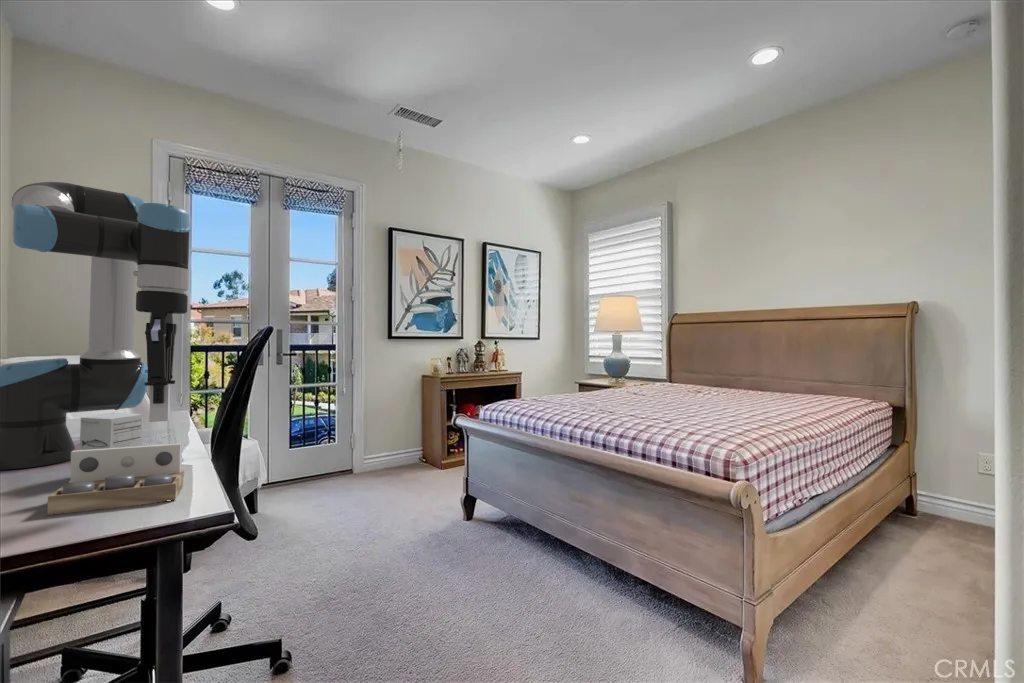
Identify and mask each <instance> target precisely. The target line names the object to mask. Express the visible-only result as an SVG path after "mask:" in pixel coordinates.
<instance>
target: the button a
mask: <svg viewBox="0 0 1024 683" xmlns="http://www.w3.org/2000/svg"><path fill="white" fill-rule="evenodd" d="M64 485H65V484H64ZM62 486H63V485H62ZM94 487H95V482H93V481H83V482H76V483H71V484H67V485H65V486H63V494H72V493H82V492H92V491H94Z"/></svg>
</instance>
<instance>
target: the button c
mask: <svg viewBox="0 0 1024 683" xmlns="http://www.w3.org/2000/svg"><path fill="white" fill-rule="evenodd" d="M162 484H172V475H170V474H160V475H153V476H149V477H146V478H145V481H144V486H152V485H162Z"/></svg>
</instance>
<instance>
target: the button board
mask: <svg viewBox="0 0 1024 683" xmlns="http://www.w3.org/2000/svg"><path fill="white" fill-rule="evenodd" d="M170 475H172V484H162V485H152V486H144V481H145V478H146V477H149V476H140V477H135V479H134V487H132V488H122V489H112V490H105V480H96V481H93V482H95V487H94V491H92V492H82V493H72V494H63V486H65V485H67V484H71V483H70V480H69V481H67V482H66V483H65V484H63V485H62V486H60V487H59V488H58V489H57V490H55V491H54V492H52V493H51V494H50V495H48V496H47V516H53V514H55V515H62V513H64V514H70V513H71V514H72V513H80V512H88V511H97V510H98V509H99V510H107V509H115V507H116V508H125V507H131V506H133V507H135V506H140V505H141V506H142V504H143V505H149V504H150V505H151V504H157V502H160V503H163V502H162V501H167V500H175V499H176V497H177V496H179V495H180V493H181V492H180V490H181V489H183V488H184V486H185V469H181V472H180V473H173V474H170ZM151 476H153V475H151ZM74 483H76V482H74ZM183 485H184V486H183ZM182 487H183V488H182ZM181 491H182V490H181ZM179 492H180V493H179ZM178 494H179V495H178ZM177 498H178V497H177ZM176 500H177V499H176ZM176 500H175V501H176Z"/></svg>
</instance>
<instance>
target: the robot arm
mask: <svg viewBox="0 0 1024 683" xmlns="http://www.w3.org/2000/svg"><path fill="white" fill-rule="evenodd" d="M11 207H12V210H13V215H12V216H13V218H12V237H13V238H12V240H13V243H14V245H15V246H16V247H18V248H21V249H26V250H32V251H33V250H34V251H37V252H42V253H46V252H49V253H57V254H58V253H59V254H67V255H77V256H87V257H91V258H90V259H91V261H90V262H91V263H90V264H91V265H90V294H89V295H90V296H89V324H88V325H89V327H88V349H87V350H86V351H85V352H83V353H82V354H81V355H79V363H74V364H73V363H69V361H68V359H67V358H65V357H64V358H63V357H62V358H61V357H59V358H49V359H48V358H45V359H37V360H35V359H34V360H27V361H18V362H13V363H12V362H9V363H7V364H3V365H0V471H1V470H3V471H4V470H5V471H6V470H17V469H28V468H35V467H42V466H43V467H44V466H49V465H55V464H58V463H63V462H67V461H69V460H70V461H71V452H72V451H76V449H77V448H76V444H75V443H74V440H73V438H72V435H71V434H70V430H69V429H68V427H67V414H69V413H71V414H72V413H83V412H84V413H85V412H95V411H96V412H97V411H109V410H115V411H118V410H122V409H133V408H136V407H137V406H139V405H140V404H141V403H142V401H143V399H144V398H145V396H146V393H147V388H148V387H149V411H148V412H149V416H148V417H149V418H148V419H149V423H155V422H168V421H170V409H171V408H170V405H171V404H170V403H171V402H170V401H171V385H175V384H176V380H174V379H173V368H174V365H173V364H174V352H175V344H176V343H175V342H176V341H175V339H176V335H177V329H178V328H177V327H178V326H177V323H174V321H173V314H176V315H180V314H181V315H183V314H187V312H188V302H189V300H188V298H189V297H188V295H187V294H186V293H185V292H187V291H188V290H189V281H190V280H189V279H190V277H189V273H190V272H189V259H190V258H189V255H190V250H189V249H190V232H191V226H190V215H189V212H187V211H186V210H185V209H183V208H182V207H179V206H176V205H171V204H166V203H161V202H147V201H146V200H144V199H142V198H141V197H138V196H135V195H130V194H126V193H123V192H117V191H110V190H107V189H106V190H105V189H100V188H95V187H91V186H84V185H79V184H74V183H71V182H70V183H69V182H63V181H61V182H60V181H43V182H35V183H30V184H25V185H24V186H21V187H19V188H18V189H17V190H16V191H15V192H14V193H13V195H12V197H11ZM136 287H137V288H139V289H140V290H138V291H137V292H136ZM135 310H136V311H137V312H138V313H150V314H151V315H150V317H149V318H150V319H149V322H146V324H145V331H144V334H145V340H146V359H147V360H146V362H147V363H145V362H143V361H142V360H141V358H142V356H141V355H140V354H138V353H137V352H136V351H135V349H134V342H135V341H134V340H135V336H134V335H135V315H136V314H135V312H136V311H135ZM141 361H142V362H141Z"/></svg>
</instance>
